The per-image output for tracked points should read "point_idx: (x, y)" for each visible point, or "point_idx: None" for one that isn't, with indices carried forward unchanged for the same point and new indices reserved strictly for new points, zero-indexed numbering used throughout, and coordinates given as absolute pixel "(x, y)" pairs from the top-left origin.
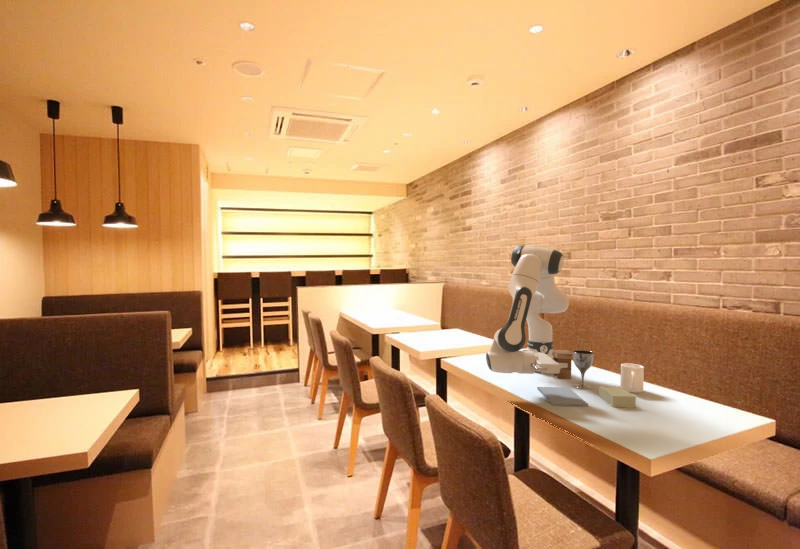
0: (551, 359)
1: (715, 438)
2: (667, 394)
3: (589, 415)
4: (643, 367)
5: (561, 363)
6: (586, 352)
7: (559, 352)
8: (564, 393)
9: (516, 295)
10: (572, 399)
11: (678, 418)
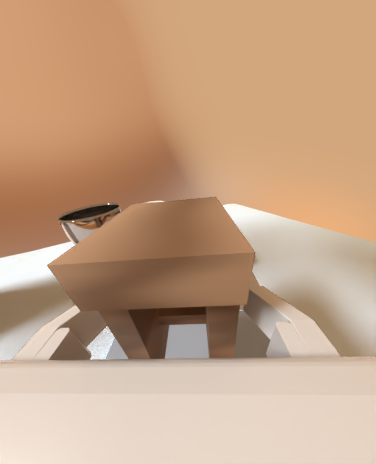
0: (263, 409)
1: (306, 223)
2: None
3: (355, 339)
4: (163, 201)
5: (280, 300)
6: (87, 212)
7: (191, 229)
8: (176, 353)
9: None
10: (237, 345)
11: (256, 228)
